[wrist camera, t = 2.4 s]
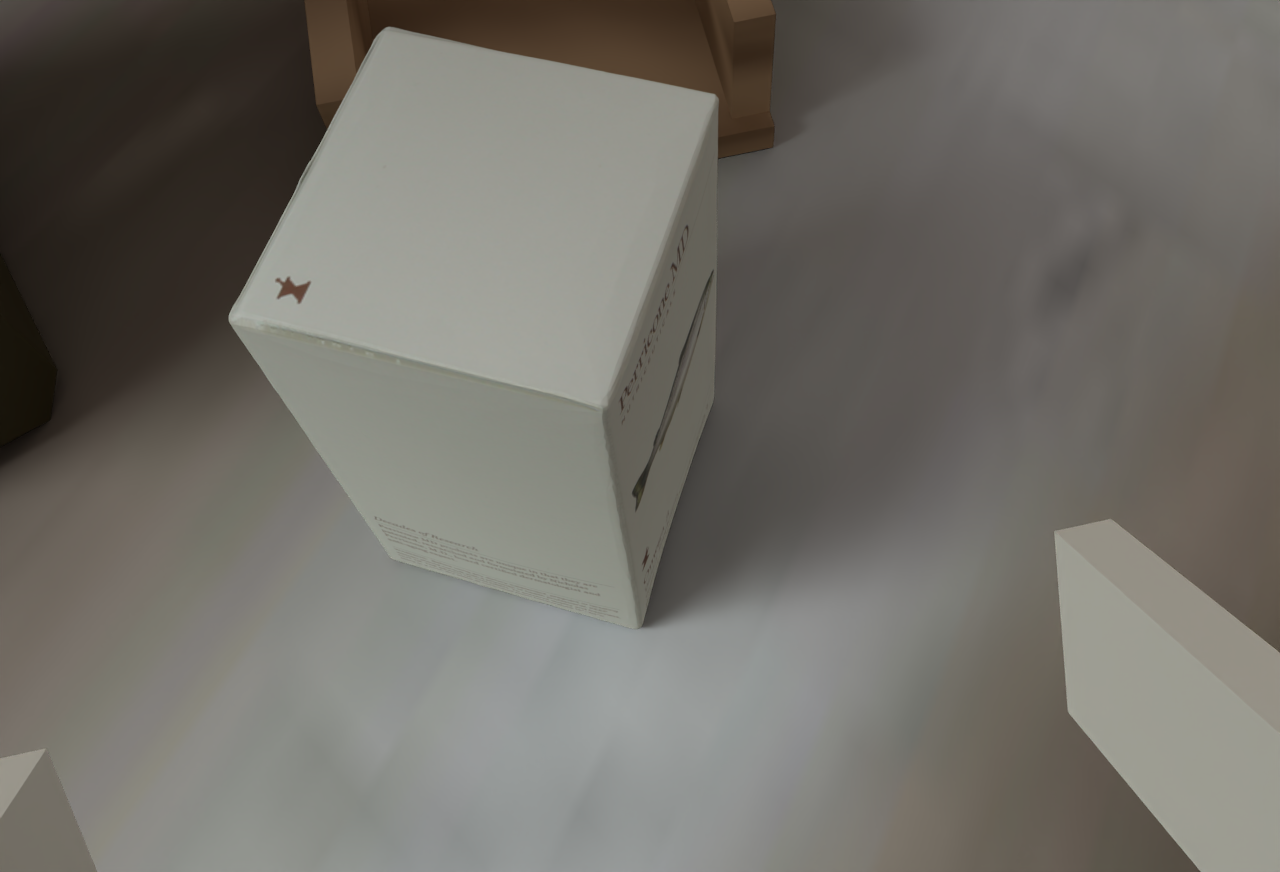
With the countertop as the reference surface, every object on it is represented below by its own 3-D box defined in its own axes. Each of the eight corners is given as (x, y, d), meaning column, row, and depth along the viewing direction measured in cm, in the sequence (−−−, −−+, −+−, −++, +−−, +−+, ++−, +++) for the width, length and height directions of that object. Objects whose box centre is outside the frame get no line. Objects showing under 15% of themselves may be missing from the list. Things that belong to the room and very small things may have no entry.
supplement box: (644, 639, 31) (605, 423, 20) (384, 561, 32) (205, 317, 21) (724, 397, 34) (730, 87, 22) (482, 335, 35) (373, 12, 24)
